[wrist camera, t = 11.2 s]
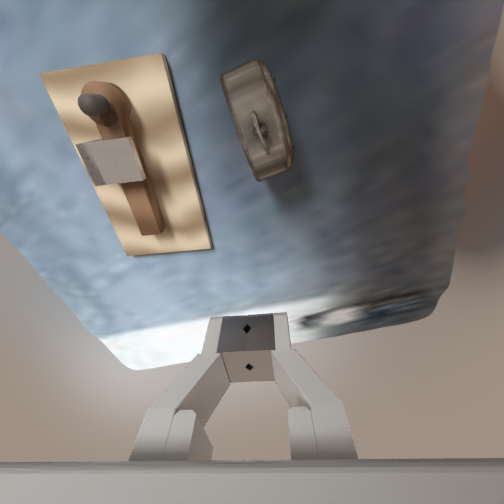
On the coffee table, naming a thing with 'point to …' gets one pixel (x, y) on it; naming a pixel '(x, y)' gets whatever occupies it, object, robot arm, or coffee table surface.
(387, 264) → the coffee table surface
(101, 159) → the keeper
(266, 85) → the alarm clock
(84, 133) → the base board
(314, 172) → the coffee table surface
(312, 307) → the coffee table surface
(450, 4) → the coffee table surface
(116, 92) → the link
